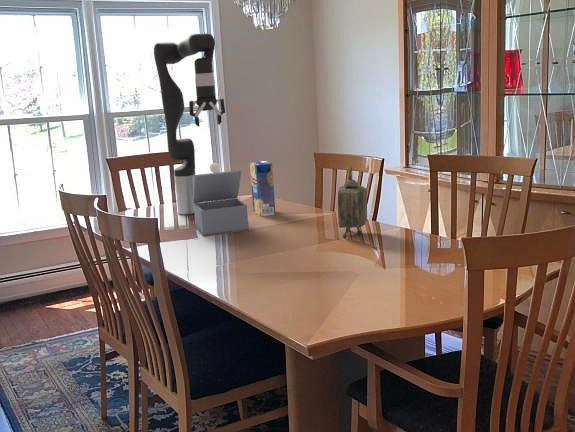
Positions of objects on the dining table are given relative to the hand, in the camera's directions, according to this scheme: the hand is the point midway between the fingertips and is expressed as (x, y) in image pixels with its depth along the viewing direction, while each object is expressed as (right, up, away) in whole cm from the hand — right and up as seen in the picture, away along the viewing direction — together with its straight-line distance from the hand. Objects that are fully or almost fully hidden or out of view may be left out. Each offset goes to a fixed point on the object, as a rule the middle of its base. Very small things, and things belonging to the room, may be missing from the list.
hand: (208, 125), depth 264 cm
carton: (+6, -42, -5) cm, 43 cm away
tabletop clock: (+57, -44, -26) cm, 76 cm away
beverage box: (+22, -36, +19) cm, 46 cm away
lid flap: (+4, -26, -6) cm, 27 cm away
